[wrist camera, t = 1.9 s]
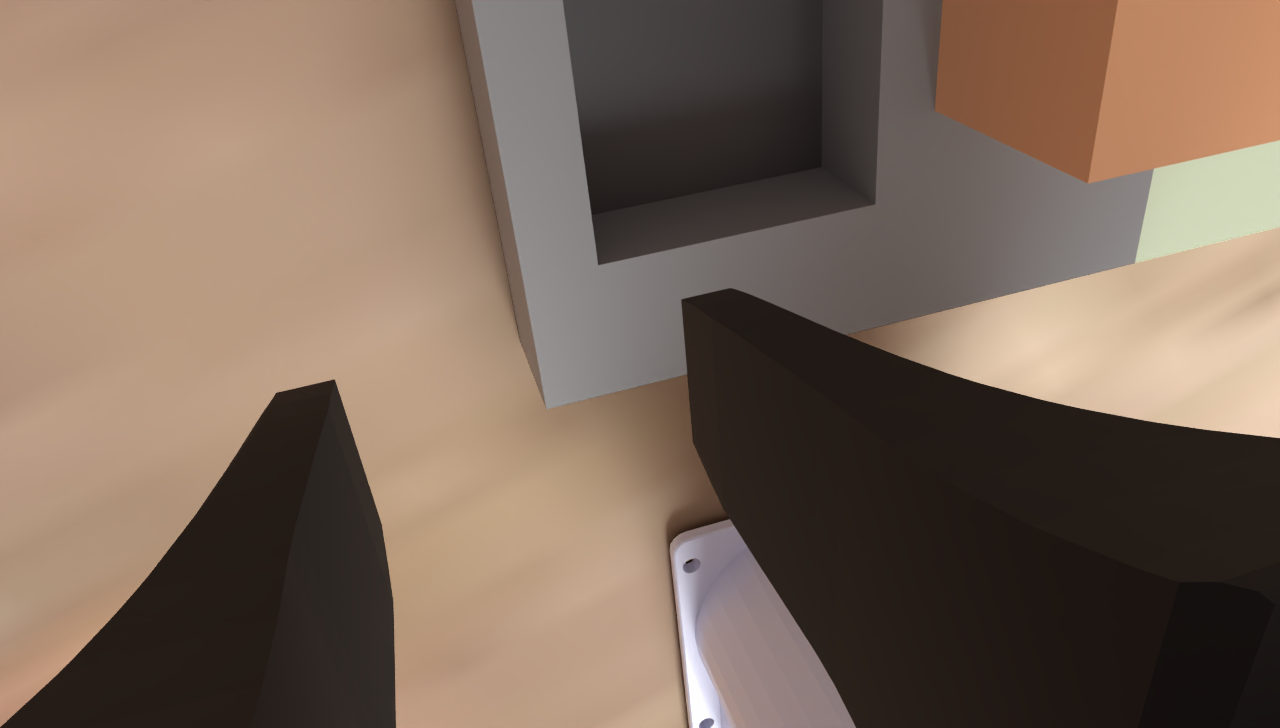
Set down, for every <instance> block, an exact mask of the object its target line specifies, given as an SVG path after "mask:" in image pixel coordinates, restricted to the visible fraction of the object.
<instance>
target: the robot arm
mask: <svg viewBox="0 0 1280 728" xmlns="http://www.w3.org/2000/svg"><path fill="white" fill-rule="evenodd" d="M681 304H682V316H683V328H684V340H685V352H686V364H687V376H688V388H689V400H690V412H691V424H692V435H693V443H694V445H695V448H696V450H697V452H698V454H699V457H700V459H701V461H702V463H703V466H704V468H705V470H706V472H707V475H708V477H709V479H710V481H711V483H712V486H713V488H714V490H715V492H716V494H717V496H718V498H719V500H720V502H721V505H722V507H723V509H724V510H725V512H726V514H727V515H728V517H729V518H730V519H728V520H725V521H721V522H718V523H714V524H711V525H707V526H703V527H700V528H696V529H693V530H689V531H686V532H683V533H681V534H679V535H678V536H677V537H675V538H674V539H673V541H672V543H671V544H670V556H671V565H672V575H673V584H674V593H675V602H676V611H677V621H678V630H679V639H680V648H681V657H682V667H683V676H684V685H685V694H686V703H687V713H688V722H689V728H1280V438H1272V437H1263V436H1255V435H1246V434H1237V433H1228V432H1220V431H1211V430H1203V429H1196V428H1189V427H1182V426H1175V425H1168V424H1162V423H1155V422H1149V421H1143V420H1138V419H1133V418H1127V417H1122V416H1117V415H1111V414H1106V413H1101V412H1095V411H1090V410H1085V409H1080V408H1075V407H1071V406H1066V405H1062V404H1057V403H1053V402H1048V401H1044V400H1040V399H1036V398H1032V397H1029V396H1025V395H1021V394H1017V393H1014V392H1010V391H1006V390H1002V389H999V388H995V387H991V386H987V385H984V384H980V383H977V382H973V381H970V380H967V379H964V378H960V377H957V376H954V375H951V374H948V373H945V372H942V371H939V370H936V369H933V368H931V367H928V366H925V365H922V364H919V363H916V362H914V361H911V360H908V359H905V358H902V357H899V356H897V355H894V354H891V353H889V352H886V351H884V350H881V349H879V348H876V347H873V346H871V345H868V344H866V343H863V342H861V341H858V340H856V339H854V338H851V337H849V336H846V335H844V334H842V333H839V332H837V331H834V330H832V329H830V328H827V327H825V326H823V325H820V324H818V323H816V322H813V321H811V320H809V319H807V318H804V317H802V316H800V315H797V314H795V313H793V312H791V311H788V310H786V309H784V308H781V307H779V306H777V305H774V304H772V303H770V302H767V301H765V300H763V299H760V298H758V297H755V296H753V295H750V294H748V293H745V292H742V291H739V290H736V289H733V288H728V289H723V290H719V291H715V292H710V293H706V294H702V295H697V296H693V297H689V298H685V299H681ZM690 559H694V560H693V561H692V562H690V563H688V564H685V563H686V561H688V560H690ZM0 728H396V711H395V655H394V612H393V597H392V590H391V583H390V576H389V569H388V562H387V556H386V550H385V543H384V537H383V530H382V524H381V521H380V518H379V515H378V512H377V509H376V506H375V502H374V499H373V496H372V493H371V490H370V487H369V484H368V481H367V478H366V475H365V472H364V468H363V465H362V462H361V459H360V456H359V453H358V450H357V447H356V444H355V441H354V438H353V434H352V431H351V428H350V425H349V422H348V419H347V416H346V413H345V410H344V407H343V404H342V400H341V397H340V394H339V391H338V388H337V385H336V382H335V380H330V381H326V382H322V383H317V384H313V385H309V386H304V387H300V388H296V389H292V390H287V391H283V392H279V393H276V394H275V396H274V397H273V399H272V400H271V402H270V403H269V405H268V406H267V408H266V409H265V411H264V412H263V413H262V415H261V416H260V418H259V420H258V421H257V423H256V424H255V426H254V427H253V429H252V431H251V432H250V434H249V435H248V437H247V438H246V440H245V442H244V443H243V445H242V446H241V448H240V449H239V451H238V453H237V454H236V456H235V457H234V459H233V460H232V462H231V463H230V465H229V467H228V468H227V470H226V471H225V473H224V474H223V476H222V477H221V478H220V480H219V481H218V483H217V484H216V486H215V487H214V489H213V490H212V492H211V493H210V495H209V496H208V497H207V499H206V500H205V502H204V503H203V505H202V506H201V508H200V509H199V511H198V512H197V514H196V515H195V516H194V518H193V519H192V520H191V522H190V523H189V524H188V525H187V527H186V528H185V529H184V531H183V532H182V533H181V535H180V536H179V537H178V538H177V540H176V541H175V542H174V544H173V545H172V546H171V547H170V549H169V550H168V551H167V553H166V554H165V555H164V557H163V558H162V559H161V560H160V562H159V563H158V564H157V566H156V567H155V568H154V570H153V571H152V572H151V573H150V575H149V576H148V577H147V578H146V579H145V581H144V582H143V583H142V584H141V585H140V587H139V588H138V589H137V590H136V591H135V593H134V594H133V595H132V596H131V597H130V598H129V599H128V600H127V602H126V603H125V604H124V605H123V606H122V607H121V608H120V610H119V611H118V612H117V613H116V614H115V615H114V616H113V617H112V618H111V619H110V621H109V622H108V623H107V624H106V625H105V626H104V627H103V628H102V629H101V630H100V631H99V632H98V633H97V634H96V635H95V636H94V637H93V638H92V640H91V641H90V642H89V643H88V644H87V645H86V646H85V647H84V648H83V649H82V650H81V651H80V652H79V653H78V654H77V655H76V656H75V658H74V659H73V660H72V661H71V662H70V663H69V664H68V665H67V666H66V667H65V668H64V669H63V670H62V671H61V672H60V673H59V674H58V675H57V676H55V677H54V678H53V679H52V680H51V681H50V682H49V683H48V684H47V685H46V686H45V687H44V688H42V689H41V690H40V691H39V692H38V693H37V694H36V695H35V696H34V697H33V698H32V699H31V700H29V701H28V702H27V703H26V704H25V705H24V706H23V707H22V708H21V709H20V710H19V711H18V712H16V713H15V714H14V715H13V716H12V717H11V718H10V719H9V720H8V721H7V722H6V723H5V724H3V725H2V726H1V727H0Z"/></svg>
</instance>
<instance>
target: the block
mask: <svg viewBox="0 0 1280 728" xmlns="http://www.w3.org/2000/svg"><path fill="white" fill-rule="evenodd" d="M935 111H936V112H939V113H941V114H943V115H945V116H947V117H949V118H951V119H953V120H955V121H957V122H959V123H962V124H964V125H966V126H968V127H970V128H972V129H974V130H976V131H978V132H980V133H983V134H985V135H987V136H989V137H991V138H993V139H995V140H997V141H999V142H1001V143H1004V144H1006V145H1008V146H1010V147H1012V148H1014V149H1016V150H1018V151H1020V152H1022V153H1025V154H1027V155H1029V156H1031V157H1033V158H1035V159H1037V160H1039V161H1041V162H1043V163H1046V164H1048V165H1050V166H1052V167H1054V168H1056V169H1058V170H1060V171H1062V172H1064V173H1067V174H1069V175H1071V176H1073V177H1075V178H1077V179H1079V180H1081V181H1083V182H1085V183H1088V184H1089V183H1093V182H1098V181H1102V180H1106V179H1111V178H1115V177H1120V176H1124V175H1128V174H1133V173H1137V172H1142V171H1146V170H1151V169H1155V168H1159V167H1164V166H1168V165H1173V164H1177V163H1182V162H1186V161H1190V160H1195V159H1199V158H1204V157H1208V156H1212V155H1217V154H1221V153H1226V152H1230V151H1235V150H1239V149H1243V148H1248V147H1252V146H1257V145H1261V144H1265V143H1270V142H1274V141H1279V140H1280V0H943V2H942V16H941V30H940V45H939V59H938V73H937V87H936V101H935Z"/></svg>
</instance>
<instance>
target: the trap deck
mask: <svg viewBox="0 0 1280 728" xmlns="http://www.w3.org/2000/svg"><path fill="white" fill-rule="evenodd" d="M942 2H943V0H455V4H456V10H457V15H458V20H459V25H460V30H461V36H462V41H463V46H464V51H465V56H466V62H467V67H468V72H469V77H470V82H471V88H472V93H473V98H474V103H475V108H476V114H477V119H478V124H479V129H480V134H481V139H482V145H483V150H484V155H485V160H486V165H487V171H488V176H489V181H490V186H491V191H492V197H493V202H494V207H495V212H496V217H497V223H498V228H499V233H500V238H501V243H502V249H503V254H504V259H505V264H506V269H507V275H508V280H509V285H510V290H511V295H512V301H513V306H514V311H515V316H516V321H517V326H518V332H519V337H520V342H521V345H522V347H523V350H524V353H525V355H526V358H527V360H528V363H529V365H530V368H531V371H532V373H533V376H534V378H535V381H536V383H537V386H538V388H539V391H540V394H541V396H542V399H543V401H544V404H545V406H546V409H550V408H554V407H558V406H562V405H566V404H570V403H574V402H578V401H582V400H586V399H590V398H594V397H598V396H602V395H606V394H610V393H614V392H618V391H623V390H627V389H631V388H635V387H639V386H643V385H647V384H651V383H655V382H659V381H663V380H667V379H671V378H675V377H679V376H683V375H687V364H686V352H685V340H684V328H683V316H682V304H681V299H685V298H689V297H693V296H697V295H702V294H706V293H710V292H715V291H719V290H723V289H728V288H733V289H736V290H739V291H742V292H745V293H748V294H750V295H753V296H755V297H758V298H760V299H763V300H765V301H767V302H770V303H772V304H774V305H777V306H779V307H781V308H784V309H786V310H788V311H791V312H793V313H795V314H797V315H800V316H802V317H804V318H807V319H809V320H811V321H813V322H816V323H818V324H820V325H823V326H825V327H827V328H830V329H832V330H834V331H837V332H839V333H842V334H844V335H848V334H852V333H856V332H860V331H864V330H868V329H872V328H876V327H880V326H884V325H888V324H892V323H896V322H900V321H904V320H908V319H912V318H916V317H920V316H924V315H928V314H932V313H936V312H940V311H944V310H949V309H953V308H957V307H961V306H965V305H969V304H973V303H977V302H981V301H985V300H989V299H993V298H997V297H1001V296H1005V295H1009V294H1013V293H1017V292H1021V291H1025V290H1029V289H1033V288H1037V287H1041V286H1045V285H1049V284H1053V283H1057V282H1061V281H1065V280H1069V279H1073V278H1077V277H1081V276H1085V275H1089V274H1093V273H1097V272H1101V271H1105V270H1110V269H1114V268H1118V267H1122V266H1126V265H1130V264H1134V263H1138V262H1142V261H1146V260H1150V259H1154V258H1158V257H1162V256H1166V255H1170V254H1174V253H1178V252H1182V251H1186V250H1190V249H1194V248H1198V247H1202V246H1206V245H1210V244H1214V243H1218V242H1222V241H1226V240H1230V239H1234V238H1238V237H1242V236H1246V235H1250V234H1254V233H1258V232H1262V231H1266V230H1271V229H1275V228H1279V227H1280V140H1279V141H1274V142H1270V143H1265V144H1261V145H1257V146H1252V147H1248V148H1243V149H1239V150H1235V151H1230V152H1226V153H1221V154H1217V155H1212V156H1208V157H1204V158H1199V159H1195V160H1190V161H1186V162H1182V163H1177V164H1173V165H1168V166H1164V167H1159V168H1155V169H1151V170H1146V171H1142V172H1137V173H1133V174H1128V175H1124V176H1120V177H1115V178H1111V179H1106V180H1102V181H1098V182H1093V183H1089V184H1088V183H1085V182H1083V181H1081V180H1079V179H1077V178H1075V177H1073V176H1071V175H1069V174H1067V173H1064V172H1062V171H1060V170H1058V169H1056V168H1054V167H1052V166H1050V165H1048V164H1046V163H1043V162H1041V161H1039V160H1037V159H1035V158H1033V157H1031V156H1029V155H1027V154H1025V153H1022V152H1020V151H1018V150H1016V149H1014V148H1012V147H1010V146H1008V145H1006V144H1004V143H1001V142H999V141H997V140H995V139H993V138H991V137H989V136H987V135H985V134H983V133H980V132H978V131H976V130H974V129H972V128H970V127H968V126H966V125H964V124H962V123H959V122H957V121H955V120H953V119H951V118H949V117H947V116H945V115H943V114H941V113H939V112H936V111H935V101H936V87H937V73H938V59H939V45H940V30H941V16H942Z"/></svg>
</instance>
